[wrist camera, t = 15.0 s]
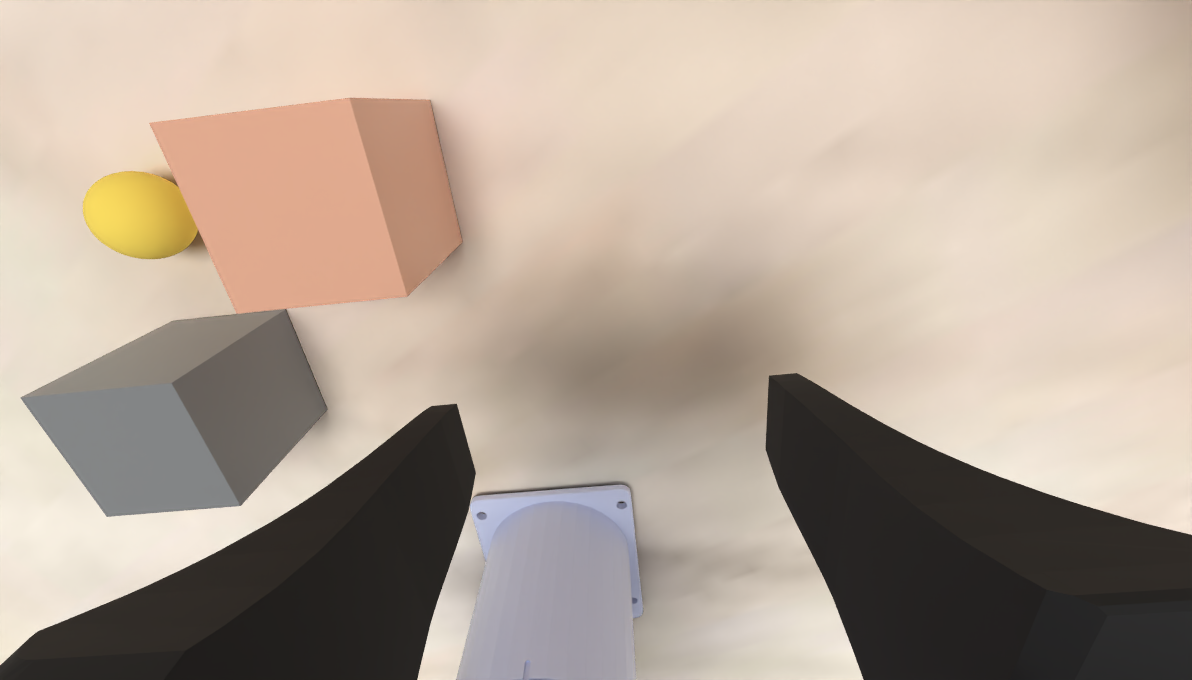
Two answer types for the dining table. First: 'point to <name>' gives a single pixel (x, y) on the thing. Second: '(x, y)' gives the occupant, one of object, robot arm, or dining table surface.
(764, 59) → the dining table surface
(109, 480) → the cover
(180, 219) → the ball
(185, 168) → the cover
